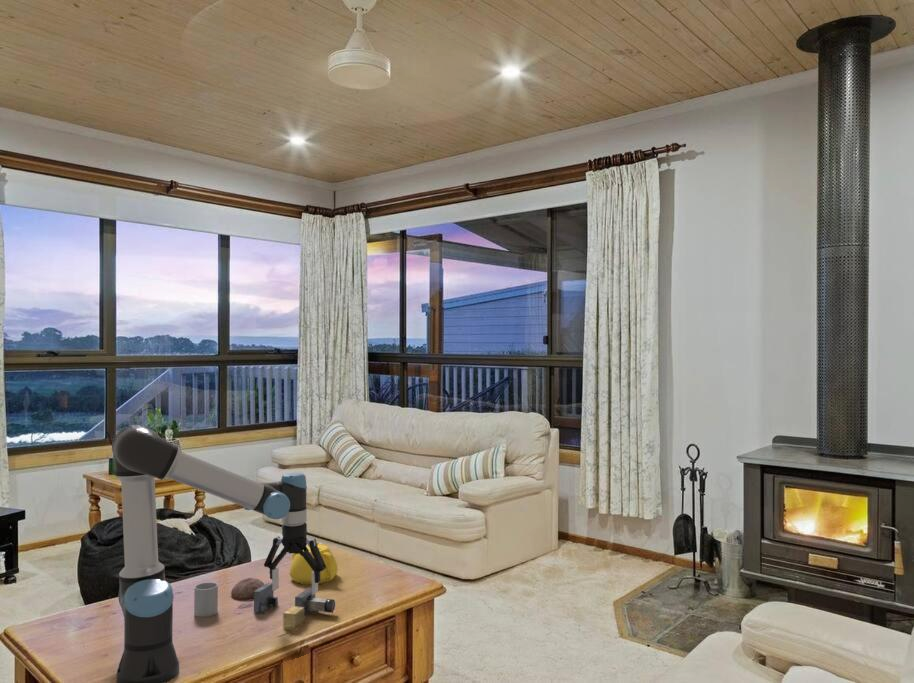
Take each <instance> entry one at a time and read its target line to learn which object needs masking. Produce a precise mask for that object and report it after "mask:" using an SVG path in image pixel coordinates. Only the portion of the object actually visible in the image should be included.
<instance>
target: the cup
mask: <svg viewBox="0 0 914 683" xmlns="http://www.w3.org/2000/svg"><path fill="white" fill-rule="evenodd" d="M218 585H219V584H218V583H217V582H213V581H212V582H211V581H208V582H201V583H198V584H195V585H194V589H193V590H194V594H193V596H194V598H193V599H194V600H193V606H194V607H193V608H194V609H193V610H194V612H193V614H194V616H195V617H198V618H207V617H212V616H215V615H216V614H217V613H218V608H219V606H218V605H219V604H218V603H219V602H218V601H219V586H218Z"/></svg>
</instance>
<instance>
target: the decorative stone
mask: <svg viewBox="0 0 914 683" xmlns="http://www.w3.org/2000/svg"><path fill="white" fill-rule="evenodd" d="M265 584H266V583H264V582H263V581H262V580H260V579H259V578H253V577H248V578H242V579H241V580H239V581H238V582H237V583H236V584H234V586H233V587H232V589H231V592H230V595H231V597H232V599H235V600H239V601H247V600H248V601H249V600H250V599H251V600H254V591H255V590H257V589H259V588H260V587H262V586H263V585H265Z"/></svg>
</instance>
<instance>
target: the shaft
mask: <svg viewBox="0 0 914 683" xmlns="http://www.w3.org/2000/svg"><path fill="white" fill-rule="evenodd" d="M335 609H336V600H335V599H333V598H332V599H330V598H321V597H315V598H311V597H307V598H306V610H312V611H311V612H313V611H314V612H322V613H323V612H324V613H331V614H333V612H334V611H335Z"/></svg>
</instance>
